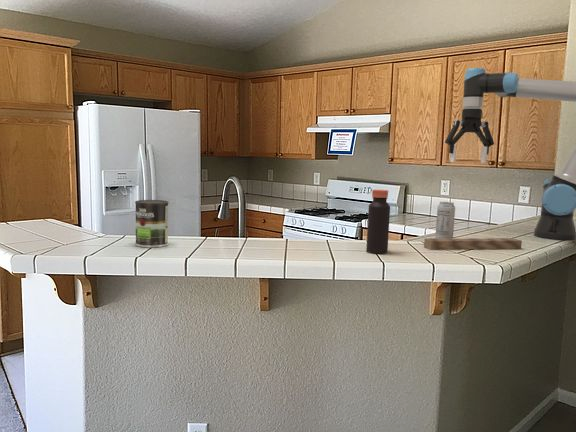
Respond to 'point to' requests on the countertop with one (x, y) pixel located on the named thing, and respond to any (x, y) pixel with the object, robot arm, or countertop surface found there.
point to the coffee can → (151, 223)
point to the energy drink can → (445, 220)
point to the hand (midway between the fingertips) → (468, 162)
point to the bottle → (378, 223)
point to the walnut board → (471, 243)
